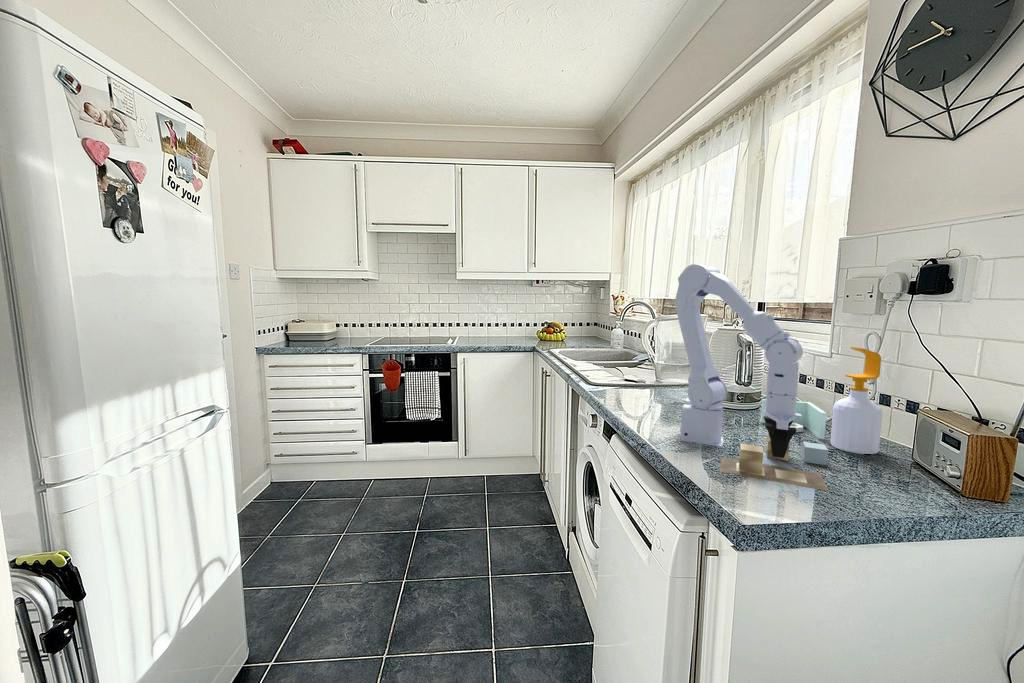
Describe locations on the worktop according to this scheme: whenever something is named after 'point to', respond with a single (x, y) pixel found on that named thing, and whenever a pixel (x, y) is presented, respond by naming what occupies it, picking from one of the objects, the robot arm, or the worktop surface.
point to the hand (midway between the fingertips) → (777, 452)
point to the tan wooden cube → (769, 451)
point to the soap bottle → (858, 413)
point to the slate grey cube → (814, 453)
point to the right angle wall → (806, 418)
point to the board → (777, 474)
